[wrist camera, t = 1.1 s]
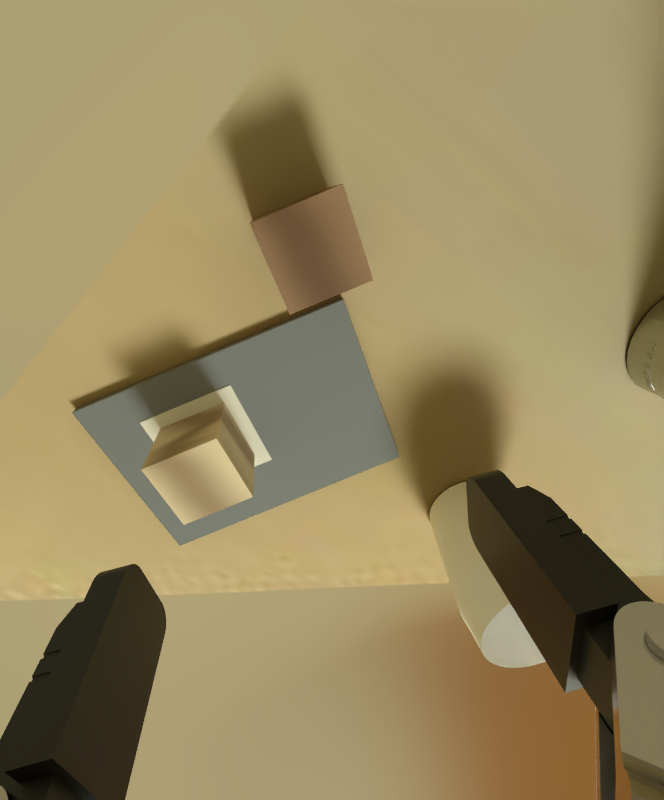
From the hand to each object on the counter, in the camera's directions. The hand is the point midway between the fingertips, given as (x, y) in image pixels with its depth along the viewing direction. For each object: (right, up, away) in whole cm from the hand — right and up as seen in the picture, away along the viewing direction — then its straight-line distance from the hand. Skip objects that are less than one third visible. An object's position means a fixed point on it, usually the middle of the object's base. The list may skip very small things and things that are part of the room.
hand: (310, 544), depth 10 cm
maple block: (-9, 0, +20) cm, 22 cm away
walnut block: (-1, +13, +16) cm, 21 cm away
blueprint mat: (-6, +1, +21) cm, 22 cm away
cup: (+13, -7, +28) cm, 32 cm away
